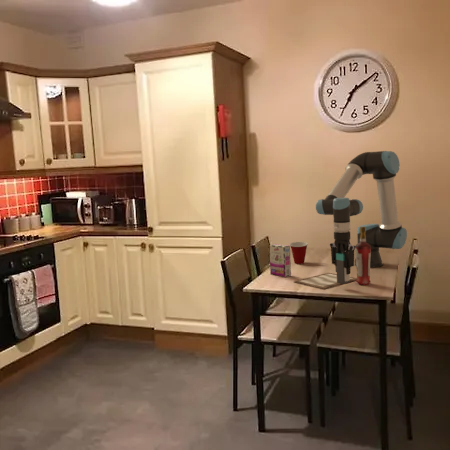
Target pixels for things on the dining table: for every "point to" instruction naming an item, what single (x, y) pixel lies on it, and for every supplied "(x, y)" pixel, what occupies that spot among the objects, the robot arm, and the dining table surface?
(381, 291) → the dining table surface
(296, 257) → the plastic cup
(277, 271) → the candy bar box
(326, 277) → the striped kitchen towel
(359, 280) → the liquor
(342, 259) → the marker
